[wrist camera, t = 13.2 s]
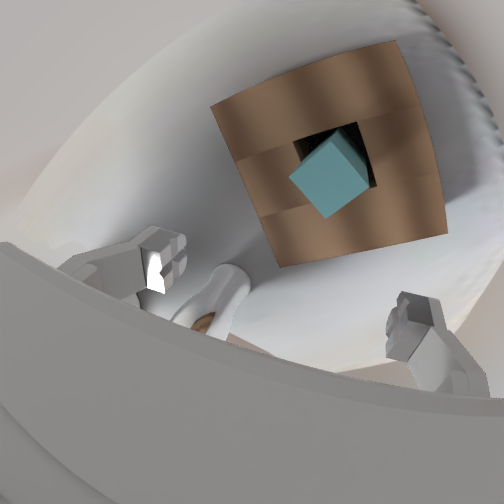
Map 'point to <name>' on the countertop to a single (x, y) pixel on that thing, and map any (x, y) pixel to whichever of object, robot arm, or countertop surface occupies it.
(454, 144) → the countertop surface
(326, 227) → the socket block
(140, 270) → the robot arm
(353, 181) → the peg
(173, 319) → the beer glass
